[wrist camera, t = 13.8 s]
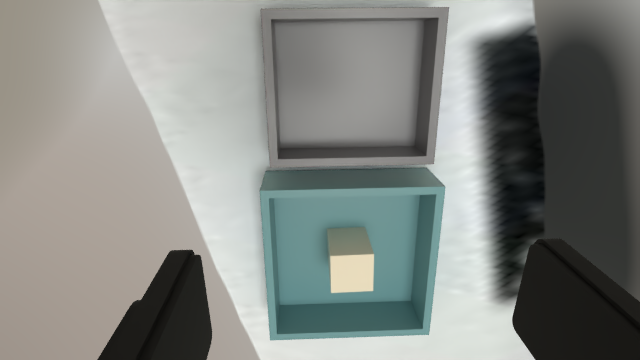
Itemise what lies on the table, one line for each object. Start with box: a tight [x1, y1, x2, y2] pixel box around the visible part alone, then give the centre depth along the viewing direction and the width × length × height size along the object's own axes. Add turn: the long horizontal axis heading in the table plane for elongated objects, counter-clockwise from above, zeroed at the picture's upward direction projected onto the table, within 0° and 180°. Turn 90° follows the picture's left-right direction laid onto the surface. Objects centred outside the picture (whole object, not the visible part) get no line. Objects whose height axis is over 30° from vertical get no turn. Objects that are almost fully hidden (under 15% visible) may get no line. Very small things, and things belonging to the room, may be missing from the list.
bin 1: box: [261, 7, 449, 168], centre depth 36 cm, size 14×16×5 cm
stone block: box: [327, 227, 374, 293], centre depth 41 cm, size 4×4×6 cm
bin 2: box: [260, 168, 445, 340], centre depth 42 cm, size 18×18×6 cm
